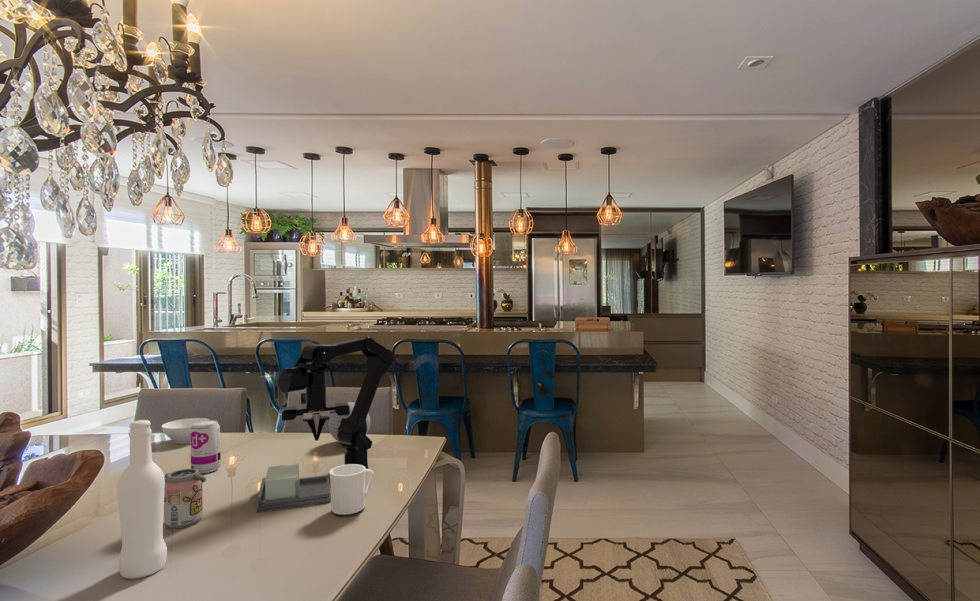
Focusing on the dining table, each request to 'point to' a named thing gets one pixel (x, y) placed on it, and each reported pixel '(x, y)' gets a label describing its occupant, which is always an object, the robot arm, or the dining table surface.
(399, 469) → the dining table surface
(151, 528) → the bottle
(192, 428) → the supplement can
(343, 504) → the mug
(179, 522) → the pink grey lidded container
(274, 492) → the housing cover
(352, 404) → the decorative ball
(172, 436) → the bowl
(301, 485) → the housing base
